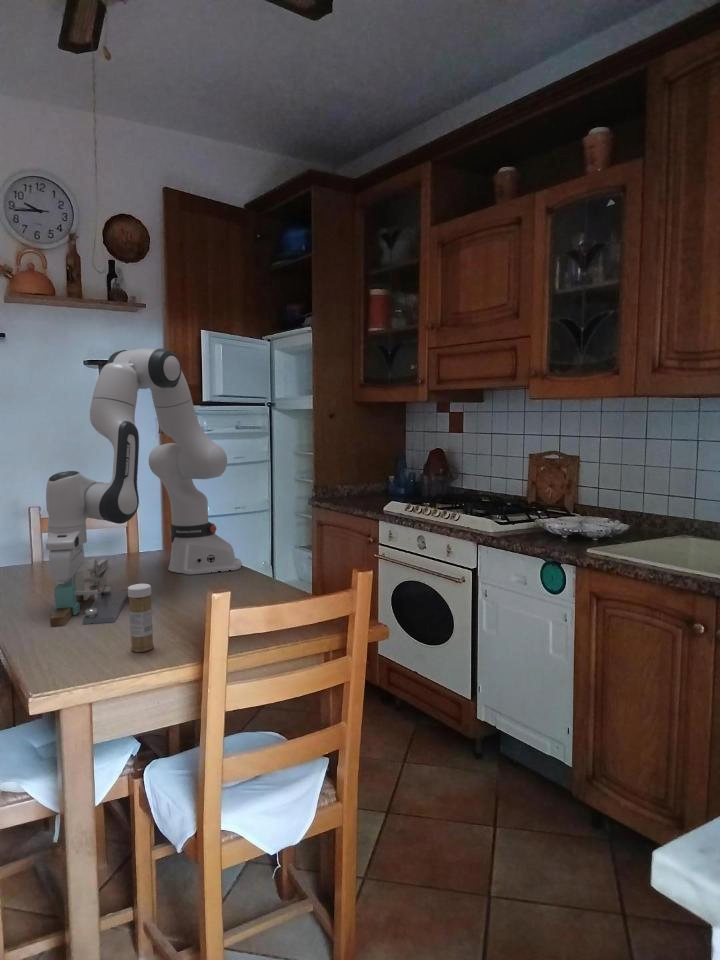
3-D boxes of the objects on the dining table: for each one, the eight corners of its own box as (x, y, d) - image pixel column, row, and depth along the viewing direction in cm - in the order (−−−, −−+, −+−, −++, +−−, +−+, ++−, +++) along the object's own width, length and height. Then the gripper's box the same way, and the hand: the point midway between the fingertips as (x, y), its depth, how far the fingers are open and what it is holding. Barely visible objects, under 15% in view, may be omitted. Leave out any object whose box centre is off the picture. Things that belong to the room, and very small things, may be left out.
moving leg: (100, 608, 170) (98, 581, 169) (97, 613, 166) (95, 585, 165) (57, 611, 168) (55, 584, 167) (53, 616, 164) (51, 588, 163)
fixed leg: (108, 594, 182) (107, 569, 182) (106, 598, 178) (104, 573, 178) (68, 597, 180) (67, 571, 180) (65, 601, 176) (63, 575, 176)
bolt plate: (128, 595, 183) (127, 585, 182) (114, 622, 159) (113, 610, 159) (100, 596, 181) (100, 586, 181) (82, 624, 158) (82, 612, 158)
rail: (84, 598, 180) (84, 590, 180) (64, 625, 157) (64, 617, 157) (72, 598, 180) (72, 591, 179) (50, 626, 157) (50, 618, 157)
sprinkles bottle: (146, 643, 144) (143, 581, 143) (158, 648, 141) (155, 585, 140) (126, 649, 141) (123, 586, 140) (137, 654, 138) (134, 589, 136)
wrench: (108, 576, 216) (94, 589, 187) (102, 576, 216) (87, 589, 187) (107, 550, 216) (93, 560, 187) (101, 551, 216) (86, 560, 187)
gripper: (63, 530, 180) (66, 581, 181) (43, 545, 160) (47, 602, 161) (89, 529, 181) (91, 579, 183) (72, 543, 161) (75, 600, 163)
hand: (70, 590), depth 172 cm, fingers closed
